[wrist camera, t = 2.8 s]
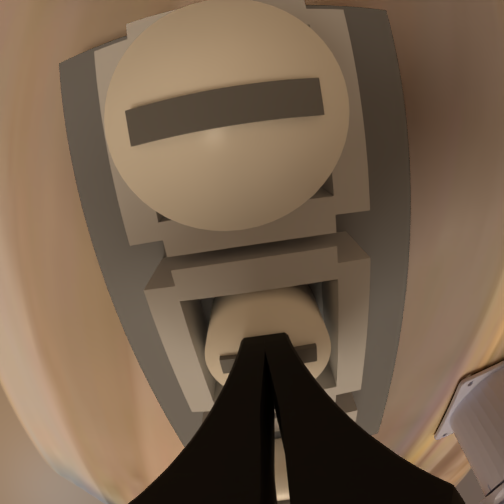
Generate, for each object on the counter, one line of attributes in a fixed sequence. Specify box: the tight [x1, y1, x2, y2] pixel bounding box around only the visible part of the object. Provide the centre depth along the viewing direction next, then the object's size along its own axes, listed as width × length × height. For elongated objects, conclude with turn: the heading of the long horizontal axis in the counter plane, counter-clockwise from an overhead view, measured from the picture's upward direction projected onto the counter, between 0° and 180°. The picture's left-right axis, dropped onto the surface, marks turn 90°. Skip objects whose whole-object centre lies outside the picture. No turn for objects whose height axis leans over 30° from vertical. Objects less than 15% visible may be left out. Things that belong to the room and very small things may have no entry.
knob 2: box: [205, 284, 331, 386], centre depth 10 cm, size 4×4×3 cm
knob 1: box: [104, 0, 350, 231], centre depth 5 cm, size 4×4×3 cm
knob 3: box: [274, 438, 290, 504], centre depth 11 cm, size 4×4×3 cm
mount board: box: [59, 0, 411, 447], centre depth 11 cm, size 12×22×4 cm, turn 8°
